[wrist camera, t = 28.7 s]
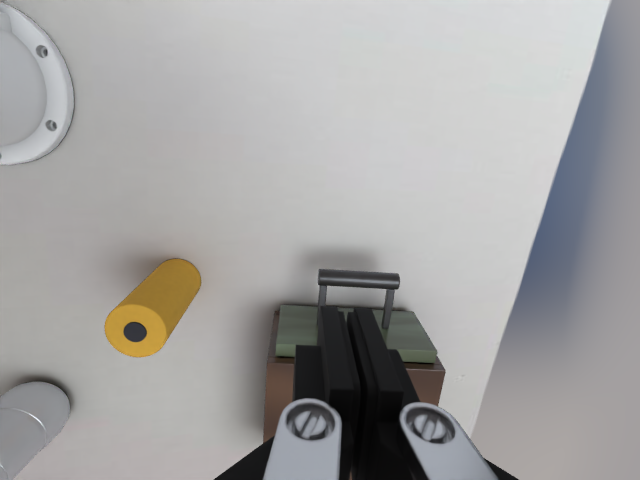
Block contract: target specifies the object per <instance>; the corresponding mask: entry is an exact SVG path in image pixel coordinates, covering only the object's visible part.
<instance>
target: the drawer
mask: <svg viewBox="0 0 640 480" xmlns="http://www.w3.org/2000/svg"><path fill="white" fill-rule="evenodd" d="M399 284H400V277H399V274H397V273H381V272H364V271H348V270H332V269H319V271H318V285H320V288H319V299H318V307H313V306H295V305H281V308H280V316H279V324H278V332H277V340H276V354H275V356H284V358H295V348H296V345H316V346H317V335H318V324H319V314H320V306H325V302H326V291H327V286H345V287H362V288H379V289H387V291H386V298H385V304H384V310H372V311H373V313H374V316H375V318H376V321H377V324H378V326H379V329H380V331H381V334H382V336H383V339H384V342H385V344H386V347H387V349H396V350H398V352H399V354H400V356H401V358H402V360H403V363H411V364H418V363H417V362H421V363H435V360H436V355H437V350H436V348H435V347H434V345H433V343H432V342H431V340H430V338H429V337H428V335H427V333H426V332H425V330H424V328H423V327H422V325H421V323H420V322H419V320H418V319H417V317H416V315H415V314H414V312H407V311H392V305H393V299H394V292H395V290H394V289H398V288H399ZM353 310H354V309H351V308H338V311H344V315H345V320H346V321H347V314H348V312H353Z"/></svg>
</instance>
